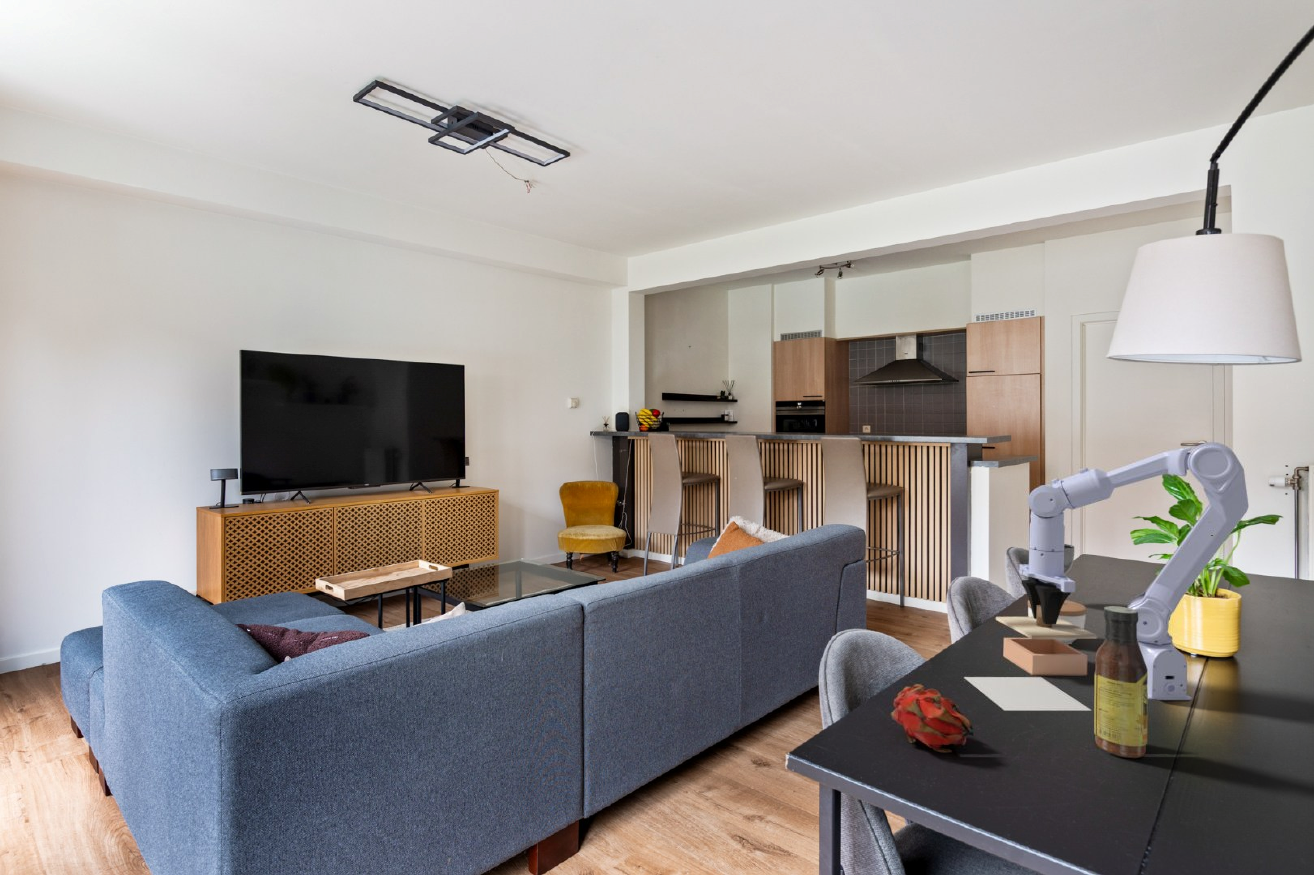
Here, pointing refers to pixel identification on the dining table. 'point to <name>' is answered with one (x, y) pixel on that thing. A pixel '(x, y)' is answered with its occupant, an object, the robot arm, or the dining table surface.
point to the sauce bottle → (1121, 687)
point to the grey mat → (1025, 694)
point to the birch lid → (1045, 628)
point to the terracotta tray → (1045, 656)
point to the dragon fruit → (930, 718)
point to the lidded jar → (1069, 616)
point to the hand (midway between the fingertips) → (1044, 621)
